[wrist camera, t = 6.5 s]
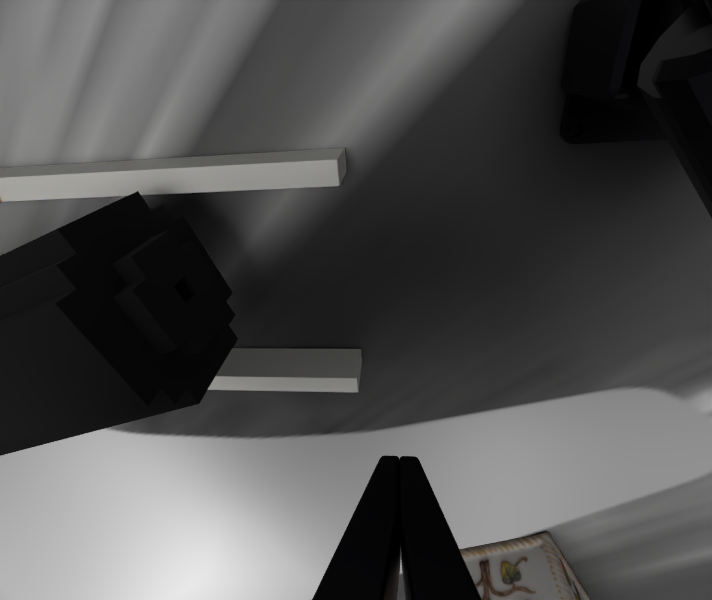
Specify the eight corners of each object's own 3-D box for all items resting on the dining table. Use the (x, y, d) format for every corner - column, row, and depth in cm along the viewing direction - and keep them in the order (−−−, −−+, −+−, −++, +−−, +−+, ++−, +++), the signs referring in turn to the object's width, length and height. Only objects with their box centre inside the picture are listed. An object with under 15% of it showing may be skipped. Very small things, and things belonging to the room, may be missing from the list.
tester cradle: (344, 148, 17) (326, 174, 13) (362, 362, 23) (353, 429, 19) (-122, 174, 20) (-265, 204, 15) (4, 358, 26) (-75, 416, 22)
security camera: (-47, 278, 23) (-316, 405, 14) (209, 157, 18) (30, 241, 9) (41, 365, 26) (-137, 512, 17) (280, 283, 21) (197, 434, 12)
